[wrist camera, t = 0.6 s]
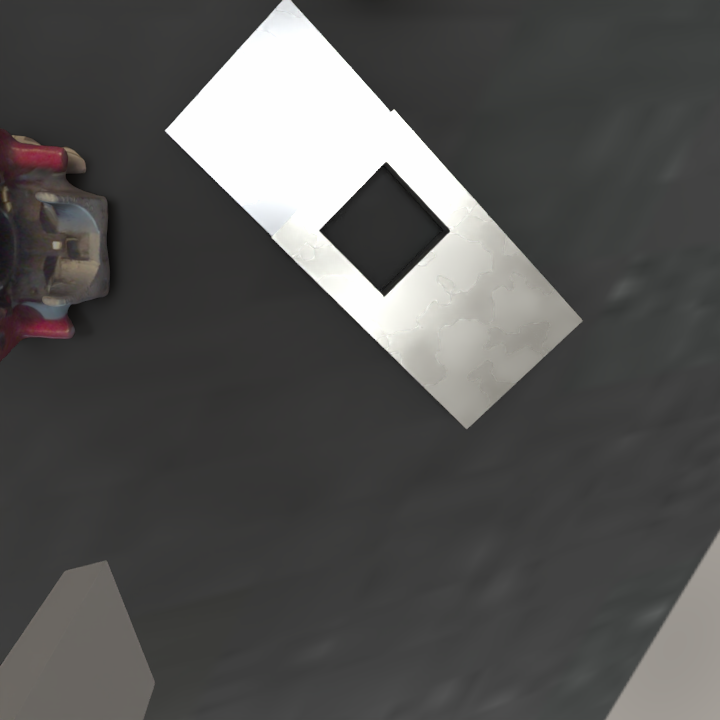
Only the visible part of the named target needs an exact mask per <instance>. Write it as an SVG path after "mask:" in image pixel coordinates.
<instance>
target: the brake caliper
mask: <svg viewBox="0 0 720 720" xmlns="http://www.w3.org/2000/svg"><path fill="white" fill-rule="evenodd" d="M85 172H86V166H85V161H84V159H82V158H81V157H80V156H79V154H77V153H76V152H75V151H74V150H72V149H71V148H69V147H57V146H42V145H40V144H39V143H38V142H36V141H35V140H33V139H31V138H28V137H26V136H15V135H11V134H10V133H9V132H7V131H6V130H4V129H0V362H1V360H2V359H3V358H4V357H5V356H7V355H8V353H9V352H10V351H11V349H12V348H14V347H15V346H16V345H17V344H18V343H19V342H20V341H21V340H23V339H25V338H28V337H44V338H54V339H69V338H72V337H73V336H74V334H75V328H74V326H73V324H72V322H71V320H70V319H69V317H68V308H69V307H70V305H71V304H78V303H81V302H83V301H88V300H92V299H95V298H98V297H104V296H106V295H107V294H108V292H109V285H110V266H109V258H108V251H107V224H108V204H107V200H106V198H105V197H104V196H98V195H95V194H92V193H89V192H85V191H83V190H80V189H78V188H76V187H74V186H73V185H71V184H70V183H69V182H68V181H67V179H66V174H74V173H75V174H78V173H85Z"/></svg>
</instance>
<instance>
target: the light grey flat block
mask: <svg viewBox="0 0 720 720" xmlns="http://www.w3.org/2000/svg"><path fill="white" fill-rule="evenodd" d="M384 163H385V164H386V165H387V166H388V167H389V168H390V169H391V170H392V171H393V173H394V174H395V175H396V176H397V177H398V178H399V179H400V180H401V181H402V182H403V183H404V184H405V186H406V187H407V188H408V189H409V190H410V191H411V192H412V193H413V194H414V195H415V196H416V197H417V199H418V200H419V201H420V202H421V203H422V204H423V205H424V206H425V207H426V208H427V209H428V210H429V212H430V213H431V214H432V215H433V216H434V217H435V218H436V219H437V220H438V221H439V222H440V223H441V225H442V226H443V227H444V228H445V229H446V230H447V231H446V232H445V233H444V234H443V235H442V236H441V237H440V238H439V239H438V240H437V241H436V242H435V243H434V244H433V245H432V246H431V247H430V248H429V249H428V250H427V251H426V252H425V253H424V254H423V255H421V256H420V257H419V258H418V259H417V260H416V261H415V262H414V263H413V264H412V265H411V266H410V267H409V268H408V269H407V270H406V271H405V272H404V273H403V274H402V275H401V276H400V277H399V278H398V279H397V280H396V281H395V282H394V283H393V284H392V285H391V286H390V287H389V288H388V289H387V290H386V291H385V292H384V293H383V294H381V293H380V292H379V291H378V290H377V289H376V288H375V287H374V286H373V285H372V284H371V283H370V282H369V281H368V280H367V279H366V278H365V277H364V276H363V275H362V274H361V273H360V272H359V271H358V270H357V269H356V268H355V267H354V266H353V265H352V264H351V263H350V262H349V261H348V260H347V258H346V257H345V256H344V255H343V254H342V253H341V252H340V251H339V250H338V249H337V248H336V247H335V246H334V245H333V244H332V243H331V242H330V241H329V240H328V239H327V238H326V237H325V236H324V235H323V234H322V233H321V232H320V231H319V230H320V229H321V228H322V227H323V226H324V225H325V223H326V222H327V221H328V220H329V219H330V218H331V217H332V216H333V215H334V214H335V213H336V212H337V211H338V210H339V209H340V208H341V207H342V206H343V205H344V204H345V203H346V202H347V201H348V200H349V199H350V198H351V197H352V196H353V195H354V194H355V193H356V192H357V190H358V189H359V188H360V187H361V186H362V185H363V184H364V183H365V182H366V181H367V180H368V179H369V178H370V177H371V176H372V175H373V174H374V173H375V172H376V171H377V170H378V169H379V168H380V167H381V166H382V165H383V164H384ZM271 238H272V239H273V240H274V241H275V242H276V243H277V244H278V245H279V246H280V247H282V248H283V249H284V250H285V251H286V252H287V253H288V254H289V255H290V256H291V257H292V258H293V259H294V260H295V261H296V262H297V263H298V264H299V265H300V266H301V267H302V268H303V269H304V270H305V271H306V272H307V273H308V274H309V275H310V276H311V277H312V278H313V279H314V280H315V281H316V282H317V283H318V284H319V285H320V286H321V287H322V288H323V289H324V290H325V291H326V292H327V293H328V294H329V295H330V296H331V297H332V298H333V299H334V300H336V301H337V302H338V303H339V304H340V305H341V306H342V307H343V308H344V309H345V310H346V311H347V312H348V313H349V314H350V315H351V316H352V317H353V318H354V319H355V320H356V321H357V322H358V323H359V324H360V325H361V326H362V327H363V328H364V329H365V330H366V331H367V332H368V333H369V334H370V335H371V336H372V337H373V338H374V339H375V340H376V341H377V342H378V343H379V344H380V345H381V346H382V347H383V348H384V349H385V350H386V351H387V352H389V353H390V354H391V355H392V356H393V357H394V358H395V359H396V360H397V361H398V362H399V363H400V364H401V365H402V366H403V367H404V368H405V369H406V370H407V371H408V372H409V373H410V374H411V375H412V376H413V377H414V378H415V379H416V380H417V381H418V382H419V383H420V384H421V385H422V386H423V387H424V388H425V389H426V390H427V391H428V392H429V393H430V394H431V395H432V396H433V397H434V398H435V399H436V400H437V401H438V402H439V403H440V404H442V405H443V406H444V407H445V408H446V409H447V410H448V411H449V412H450V413H451V414H452V415H453V416H454V417H455V418H456V419H457V420H458V421H459V422H460V423H461V424H462V425H463V426H464V427H465V428H466V429H468V428H469V427H470V426H471V425H472V424H473V423H474V422H475V421H476V420H477V419H478V418H479V417H480V416H481V415H483V414H484V413H485V412H486V411H487V410H488V409H489V408H490V407H491V406H492V405H493V404H494V403H495V402H496V401H498V400H499V399H500V398H501V397H502V396H503V395H504V394H505V393H506V392H507V391H508V390H509V389H510V388H511V387H512V386H514V385H515V384H516V383H517V382H518V381H519V380H520V379H521V378H522V377H523V376H524V375H525V374H526V373H527V372H529V371H530V370H531V369H532V368H533V367H534V366H535V365H536V364H537V363H538V362H539V361H540V360H541V359H542V358H543V357H545V356H546V355H547V354H548V353H549V352H550V351H551V350H552V349H553V348H554V347H555V346H556V345H557V344H558V343H560V342H561V341H562V340H563V339H564V338H565V337H566V336H567V335H568V334H569V333H570V332H571V331H572V330H573V329H574V328H576V327H577V326H578V325H579V324H580V323H581V322H582V321H583V320H582V319H581V318H580V317H579V316H578V315H577V314H576V312H575V311H574V310H573V309H572V308H571V307H570V306H569V305H568V304H567V302H566V301H565V300H564V299H563V298H562V297H561V296H560V295H559V293H558V292H557V291H556V290H555V289H554V288H553V287H552V286H551V285H550V283H549V282H548V281H547V280H546V279H545V278H544V277H543V276H542V274H541V273H540V272H539V271H538V270H537V269H536V268H535V267H534V266H533V264H532V263H531V262H530V261H529V260H528V259H527V258H526V257H525V255H524V254H523V253H522V252H521V251H520V250H519V249H518V248H517V247H516V245H515V244H514V243H513V242H512V241H511V240H510V239H509V238H508V236H507V235H506V234H505V233H504V232H503V231H502V230H501V229H500V228H499V226H498V225H497V224H496V223H495V222H494V221H493V220H492V219H491V217H490V216H489V215H488V214H487V213H486V212H485V211H484V210H483V209H482V207H481V206H480V205H479V204H478V203H477V202H476V201H475V200H474V198H473V197H472V196H471V195H470V194H469V193H468V192H467V191H466V190H465V188H464V187H463V186H462V185H461V184H460V183H459V182H458V181H457V179H456V178H455V177H454V176H453V175H452V174H451V173H450V172H449V171H448V169H447V168H446V167H445V166H444V165H443V164H442V163H441V162H440V160H439V159H438V158H437V157H436V156H435V155H434V154H433V153H432V152H431V150H430V149H429V148H428V147H427V146H426V145H425V144H424V143H423V141H422V140H421V139H420V138H419V137H418V136H417V135H416V134H415V133H414V131H413V130H412V129H411V128H410V127H409V126H408V125H407V124H406V122H405V121H404V120H403V119H402V118H401V117H400V116H399V115H398V114H397V112H396V111H395V110H393V111H392V112H391V113H390V114H389V115H388V116H387V117H386V118H385V119H384V120H383V122H382V123H381V124H380V125H379V126H378V127H377V128H376V129H375V130H374V131H373V132H372V133H371V134H370V135H369V136H368V137H367V138H366V139H365V140H364V141H363V142H362V143H361V144H360V145H359V147H358V148H357V149H356V150H355V151H354V152H353V153H352V154H351V155H350V156H349V157H348V158H347V159H346V160H345V161H344V162H343V163H342V164H341V165H340V166H339V167H338V168H337V169H336V171H335V172H334V173H333V174H332V175H331V176H330V177H329V178H328V179H327V180H326V181H325V182H324V183H323V184H322V185H321V186H320V187H319V188H318V189H317V190H316V191H315V192H314V193H313V195H312V196H311V197H310V198H309V199H308V200H307V201H306V202H305V203H304V204H303V205H302V206H301V207H300V208H299V209H298V210H297V211H296V212H295V213H294V214H293V215H292V216H291V217H290V219H289V220H288V221H287V222H286V223H285V224H284V225H283V226H282V227H281V228H280V229H279V230H278V231H277V232H276V233H275V234H274V235H273V236H272V237H271Z"/></svg>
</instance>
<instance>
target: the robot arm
mask: <svg viewBox="0 0 720 720" xmlns="http://www.w3.org/2000/svg"><path fill="white" fill-rule="evenodd" d="M154 685H155V682H154V679H153V677H152V674H151V672H150V669H149V666H148V664H147V661H146V659H145V656H144V654H143V651H142V649H141V646H140V644H139V641H138V639H137V636H136V634H135V631H134V629H133V626H132V623H131V621H130V618H129V616H128V613H127V611H126V608H125V606H124V603H123V601H122V598H121V596H120V593H119V591H118V588H117V586H116V583H115V580H114V578H113V575H112V573H111V570H110V568H109V565H108V563H107V560H106V561H102V562H98V563H94V564H90V565H86V566H82V567H78V568H75V569H71V570H67V571H64V573H63V574H62V576H61V577H60V579H59V580H58V582H57V583H56V585H55V586H54V588H53V589H52V591H51V592H50V594H49V595H48V597H47V598H46V600H45V601H44V602H43V604H42V605H41V607H40V608H39V610H38V611H37V613H36V614H35V616H34V617H33V619H32V620H31V622H30V623H29V625H28V626H27V628H26V629H25V631H24V632H23V634H22V635H21V636H20V638H19V639H18V641H17V642H16V644H15V645H14V647H13V648H12V650H11V651H10V653H9V654H8V656H7V657H6V659H5V660H4V662H3V663H2V665H1V666H0V720H143V718H144V715H145V712H146V709H147V706H148V703H149V700H150V697H151V694H152V691H153V688H154Z"/></svg>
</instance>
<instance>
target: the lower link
mask: <svg viewBox="0 0 720 720" xmlns="http://www.w3.org/2000/svg"><path fill="white" fill-rule="evenodd" d="M390 113H391V112H390V111H389V109H388V108H387V107H386V106H385V105H384V104H383V103H382V102H381V100H380V99H379V98H378V97H377V96H376V95H375V94H374V93H373V92H372V90H371V89H370V88H369V87H368V86H367V85H366V84H365V83H364V82H363V80H362V79H361V78H360V77H359V76H358V75H357V74H356V73H355V72H354V70H353V69H352V68H351V67H350V66H349V65H348V64H347V63H346V61H345V60H344V59H343V58H342V57H341V56H340V55H339V54H338V53H337V51H336V50H335V49H334V48H333V47H332V46H331V45H330V44H329V43H328V41H327V40H326V39H325V38H324V37H323V36H322V35H321V34H320V33H319V31H318V30H317V29H316V28H315V27H314V26H313V25H312V24H311V22H310V21H309V20H308V19H307V18H306V17H305V16H304V15H303V14H302V12H301V11H300V10H299V9H298V8H297V7H296V6H295V5H294V4H293V2H292V1H291V0H283V1H282V2H281V3H280V4H279V5H278V6H277V7H276V9H275V10H274V11H273V12H272V13H271V14H270V15H269V16H268V17H267V19H266V20H265V21H264V22H263V23H262V24H261V25H260V26H259V27H258V28H257V30H256V31H255V32H254V33H253V34H252V35H251V36H250V37H249V38H248V40H247V41H246V42H245V43H244V44H243V45H242V46H241V47H240V48H239V50H238V51H237V52H236V53H235V54H234V55H233V56H232V57H231V58H230V60H229V61H228V62H227V63H226V64H225V65H224V66H223V67H222V68H221V69H220V71H219V72H218V73H217V74H216V75H215V76H214V77H213V78H212V79H211V81H210V82H209V83H208V84H207V85H206V86H205V87H204V88H203V89H202V91H201V92H200V93H199V94H198V95H197V96H196V97H195V98H194V99H193V100H192V102H191V103H190V104H189V105H188V106H187V107H186V108H185V109H184V110H183V112H182V113H181V114H180V115H179V116H178V117H177V118H176V119H175V120H174V122H173V123H172V124H171V125H170V126H169V127H168V128H167V129H166V130H165V132H167V133H168V134H169V135H170V136H171V137H172V138H173V139H174V140H175V141H176V142H177V143H178V144H179V145H180V146H181V147H182V148H183V149H184V150H185V151H186V152H187V153H188V154H189V155H190V156H191V157H192V158H193V159H194V160H195V161H196V162H197V163H198V164H199V165H200V166H201V167H202V168H203V169H204V170H205V171H206V172H207V173H208V174H209V175H210V176H211V177H212V178H213V179H214V180H215V181H216V182H217V183H218V184H219V185H220V186H221V187H222V188H224V189H225V190H226V191H227V192H228V193H229V194H230V195H231V196H232V197H233V198H234V199H235V200H236V201H237V202H238V203H239V204H240V205H241V206H242V207H243V208H244V209H245V210H246V211H247V212H248V213H249V214H250V215H251V216H252V217H253V218H254V219H255V220H256V221H257V222H258V223H259V224H260V225H261V226H262V227H263V228H264V229H265V230H266V231H267V232H268V233H269V234H270V235H271V236H273V235H274V234H275V233H276V232H277V231H278V230H279V229H280V228H281V227H282V226H283V225H284V224H285V223H286V222H287V221H288V220H289V219H290V217H291V216H292V215H293V214H294V213H295V212H296V211H297V210H298V209H299V208H300V207H301V206H302V205H303V204H304V203H305V202H306V201H307V200H308V199H309V198H310V197H311V196H312V195H313V193H314V192H315V191H316V190H317V189H318V188H319V187H320V186H321V185H322V184H323V183H324V182H325V181H326V180H327V179H328V178H329V177H330V176H331V175H332V174H333V173H334V172H335V171H336V169H337V168H338V167H339V166H340V165H341V164H342V163H343V162H344V161H345V160H346V159H347V158H348V157H349V156H350V155H351V154H352V153H353V152H354V151H355V150H356V149H357V148H358V147H359V145H360V144H361V143H362V142H363V141H364V140H365V139H366V138H367V137H368V136H369V135H370V134H371V133H372V132H373V131H374V130H375V129H376V128H377V127H378V126H379V125H380V124H381V123H382V122H383V120H384V119H385V118H386V117H387V116H388V115H389V114H390ZM383 165H384V166H385V168H386V169H387V170H388V171H389V172H390V173H391V174H392V175H393V176H394V177H395V178H396V179H397V181H398V182H399V183H400V184H401V185H402V186H403V187H404V188H405V189H406V190H407V191H408V192H409V193H410V195H411V196H412V197H413V198H414V199H415V200H416V201H417V202H418V203H419V204H420V205H421V206H422V208H423V209H424V210H425V211H426V212H427V213H428V214H429V215H430V216H431V217H432V218H433V219H434V220H435V222H436V223H437V224H438V225H439V226H440V227H441V228H442V229H443V230H442V231H441V232H440V233H439V234H438V235H437V236H436V237H435V238H434V239H433V240H432V241H431V242H430V243H429V244H428V245H427V246H426V247H425V248H424V249H423V250H422V251H421V252H420V253H419V254H418V255H417V256H416V257H415V258H414V259H413V260H412V261H411V262H410V263H409V264H408V265H407V266H406V267H405V268H404V269H403V270H402V271H401V272H400V273H399V274H398V275H397V276H396V277H395V278H394V279H393V280H392V281H391V282H390V283H389V284H388V285H387V286H386V287H385V288H384V289H383V290H382V291H381V292H380V291H379V290H378V289H377V288H376V287H375V286H374V285H373V284H372V283H371V282H370V281H369V280H368V279H367V278H366V277H365V276H364V275H363V274H362V273H361V272H360V271H359V270H358V269H357V268H356V267H355V266H354V265H353V264H352V263H351V262H350V261H349V260H348V259H347V260H348V261H349V262H350V263H351V264H352V265H353V266H354V267H355V268H356V269H357V270H358V271H359V272H360V273H361V274H362V275H363V276H364V277H365V278H366V279H367V280H368V281H369V282H370V283H371V284H372V285H373V286H374V287H375V288H376V289H377V290H378V291H379V292H380V293H381V294H383V293H384V292H385V291H386V290H387V289H388V288H389V287H390V286H391V285H392V284H393V283H394V282H395V281H396V280H397V279H398V278H399V277H400V276H401V275H402V274H403V273H404V272H405V271H406V270H407V269H408V268H409V267H410V266H411V265H412V264H413V263H414V262H415V261H416V260H417V259H418V258H419V257H420V256H421V255H423V254H424V253H425V252H426V251H427V250H428V249H429V248H430V247H431V246H432V245H433V244H434V243H435V242H436V241H437V240H438V239H439V238H440V237H441V236H442V235H443V234H444V233H445V232H446V231H447V230H446V229H445V228H444V227H443V226H442V225H441V223H440V222H439V221H438V220H437V219H436V218H435V217H434V216H433V215H432V214H431V213H430V212H429V210H428V209H427V208H426V207H425V206H424V205H423V204H422V203H421V202H420V201H419V200H418V199H417V197H416V196H415V195H414V194H413V193H412V192H411V191H410V190H409V189H408V188H407V187H406V186H405V184H404V183H403V182H402V181H401V180H400V179H399V178H398V177H397V176H396V175H395V174H394V173H393V171H392V170H391V169H390V168H389V167H388V166H387V165H386V164H385V163H384V164H383Z"/></svg>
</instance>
